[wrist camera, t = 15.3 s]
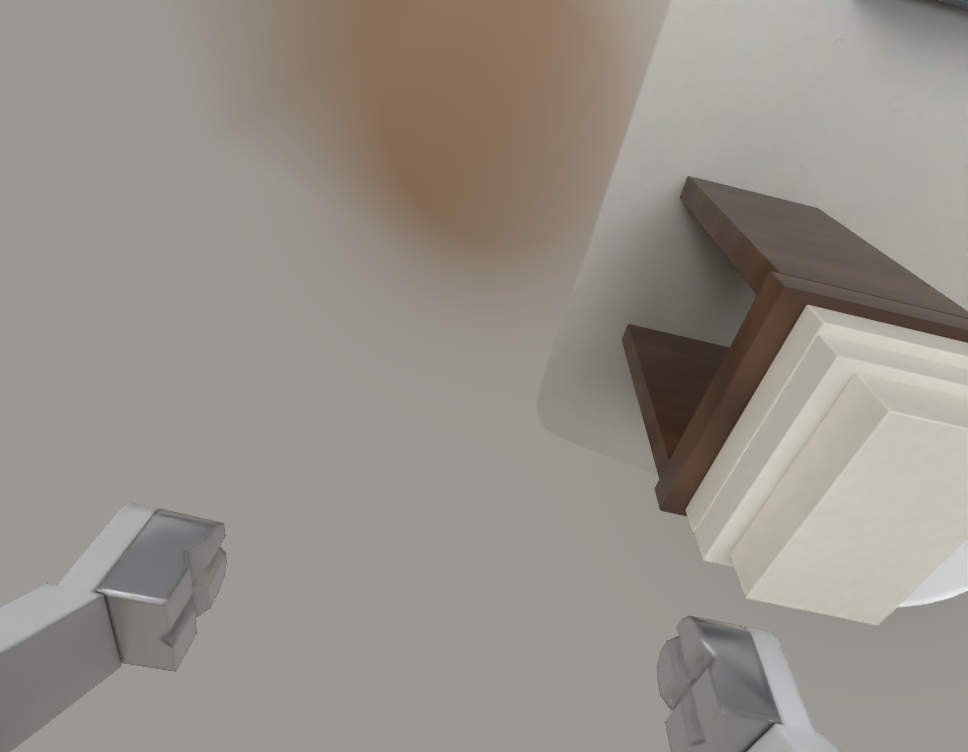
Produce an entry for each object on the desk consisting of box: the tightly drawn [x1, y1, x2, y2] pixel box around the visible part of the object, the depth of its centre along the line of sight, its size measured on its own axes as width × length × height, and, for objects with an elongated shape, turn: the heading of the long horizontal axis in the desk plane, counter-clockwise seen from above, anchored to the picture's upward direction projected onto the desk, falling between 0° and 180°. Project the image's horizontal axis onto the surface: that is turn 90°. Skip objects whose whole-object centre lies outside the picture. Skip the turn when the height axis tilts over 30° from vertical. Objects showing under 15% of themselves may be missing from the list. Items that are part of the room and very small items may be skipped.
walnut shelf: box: [622, 176, 968, 516], centre depth 37 cm, size 14×11×20 cm
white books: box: [686, 305, 968, 567], centre depth 27 cm, size 13×8×4 cm, turn 168°
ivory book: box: [730, 373, 968, 626], centre depth 24 cm, size 11×6×3 cm, turn 168°
